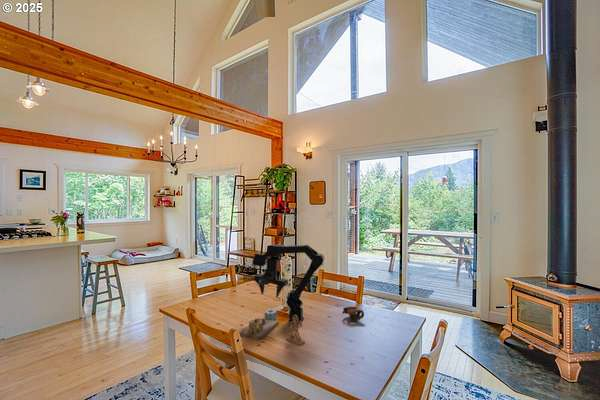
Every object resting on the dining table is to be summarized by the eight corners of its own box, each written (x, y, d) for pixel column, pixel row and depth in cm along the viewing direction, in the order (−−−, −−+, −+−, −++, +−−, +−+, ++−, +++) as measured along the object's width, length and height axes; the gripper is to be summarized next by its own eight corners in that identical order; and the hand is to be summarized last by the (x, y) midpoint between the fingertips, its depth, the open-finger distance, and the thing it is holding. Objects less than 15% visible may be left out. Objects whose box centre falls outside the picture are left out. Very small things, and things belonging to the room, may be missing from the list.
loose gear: (278, 317, 158) (278, 310, 158) (273, 321, 152) (273, 314, 152) (267, 315, 161) (267, 308, 161) (262, 320, 154) (262, 312, 154)
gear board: (278, 324, 149) (278, 311, 149) (262, 339, 132) (262, 325, 132) (258, 320, 153) (258, 308, 153) (239, 335, 136) (239, 322, 137)
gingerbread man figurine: (285, 339, 133) (285, 313, 133) (291, 336, 135) (291, 311, 135) (299, 346, 126) (299, 319, 126) (305, 343, 129) (305, 316, 129)
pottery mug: (341, 324, 150) (339, 307, 155) (346, 325, 158) (344, 310, 162) (364, 321, 146) (361, 304, 151) (368, 323, 154) (365, 307, 158)
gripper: (249, 267, 153) (247, 296, 153) (279, 273, 145) (277, 304, 145) (260, 263, 163) (258, 291, 163) (289, 269, 156) (287, 297, 156)
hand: (269, 295), depth 157 cm, fingers open, 9 cm apart
